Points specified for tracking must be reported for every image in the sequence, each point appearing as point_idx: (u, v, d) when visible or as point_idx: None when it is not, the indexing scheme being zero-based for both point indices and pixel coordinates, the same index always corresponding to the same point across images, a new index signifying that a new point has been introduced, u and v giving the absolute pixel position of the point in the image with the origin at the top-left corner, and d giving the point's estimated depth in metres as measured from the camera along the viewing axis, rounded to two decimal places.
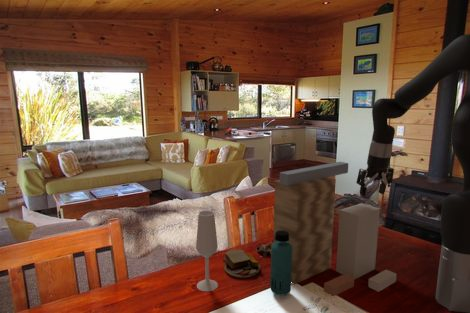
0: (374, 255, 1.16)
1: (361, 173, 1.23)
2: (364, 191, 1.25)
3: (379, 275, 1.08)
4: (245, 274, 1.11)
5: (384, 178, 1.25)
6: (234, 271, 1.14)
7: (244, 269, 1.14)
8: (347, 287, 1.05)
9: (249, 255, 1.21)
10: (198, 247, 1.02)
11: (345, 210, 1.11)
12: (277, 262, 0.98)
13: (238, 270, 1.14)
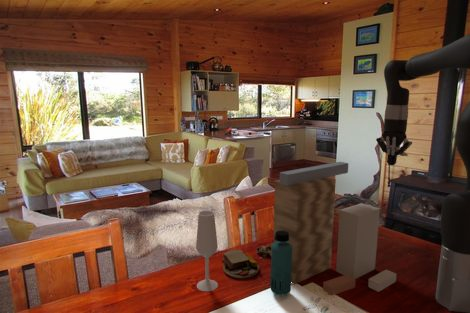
0: (374, 255, 1.16)
1: None
2: (388, 159, 1.24)
3: (379, 275, 1.08)
4: (244, 274, 1.11)
5: (393, 145, 1.21)
6: (233, 272, 1.13)
7: (243, 269, 1.14)
8: (347, 287, 1.05)
9: (248, 255, 1.21)
10: (198, 247, 1.02)
11: (345, 210, 1.11)
12: (277, 262, 0.98)
13: (237, 270, 1.14)
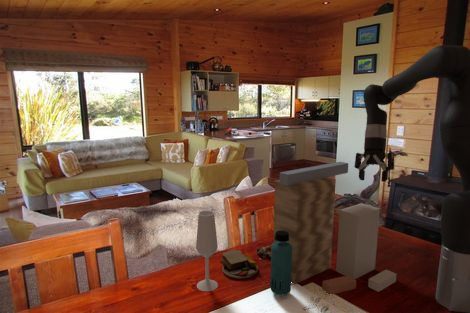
0: (374, 255, 1.16)
1: None
2: (360, 174, 1.29)
3: (379, 275, 1.08)
4: (244, 275, 1.11)
5: (378, 161, 1.23)
6: (232, 272, 1.13)
7: (242, 270, 1.14)
8: (347, 288, 1.05)
9: (246, 256, 1.20)
10: (198, 247, 1.02)
11: (345, 210, 1.11)
12: (277, 262, 0.98)
13: (236, 271, 1.13)
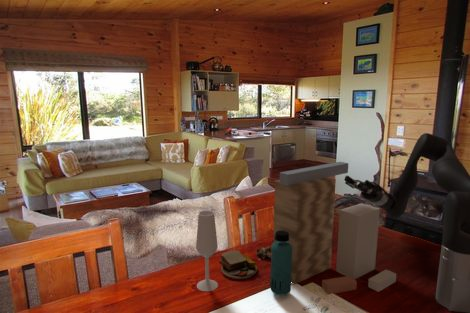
0: (374, 255, 1.16)
1: None
2: None
3: (379, 275, 1.08)
4: (243, 275, 1.11)
5: None
6: (231, 273, 1.13)
7: (241, 270, 1.14)
8: (347, 288, 1.04)
9: (245, 256, 1.20)
10: (198, 247, 1.02)
11: (345, 210, 1.11)
12: (277, 262, 0.98)
13: (235, 271, 1.13)
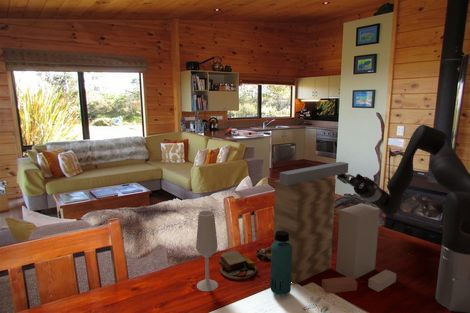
0: (374, 255, 1.16)
1: None
2: None
3: (379, 275, 1.08)
4: (242, 276, 1.10)
5: None
6: (231, 273, 1.12)
7: (241, 270, 1.14)
8: (347, 289, 1.04)
9: (244, 256, 1.20)
10: (198, 247, 1.02)
11: (345, 210, 1.11)
12: (277, 262, 0.98)
13: (235, 272, 1.13)
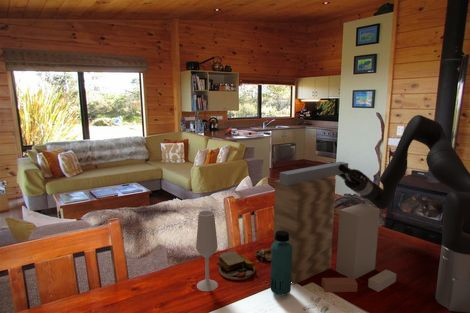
0: (374, 255, 1.16)
1: None
2: None
3: (379, 275, 1.08)
4: (242, 276, 1.10)
5: None
6: (230, 274, 1.12)
7: (239, 271, 1.13)
8: (346, 289, 1.04)
9: (243, 257, 1.20)
10: (198, 247, 1.02)
11: (345, 210, 1.11)
12: (277, 262, 0.98)
13: (234, 272, 1.12)
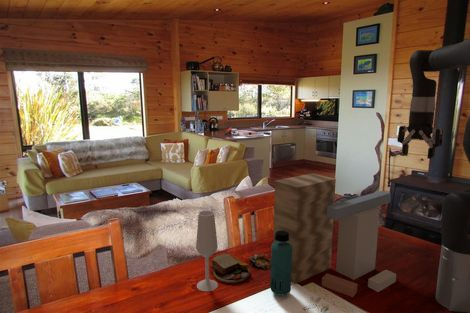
0: (374, 255, 1.16)
1: None
2: (403, 149, 1.22)
3: (379, 275, 1.08)
4: (238, 278, 1.09)
5: (425, 138, 1.15)
6: (225, 277, 1.10)
7: (235, 273, 1.12)
8: (342, 291, 1.03)
9: (236, 259, 1.18)
10: (198, 247, 1.02)
11: None
12: (277, 262, 0.98)
13: (229, 275, 1.11)
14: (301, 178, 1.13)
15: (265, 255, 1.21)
